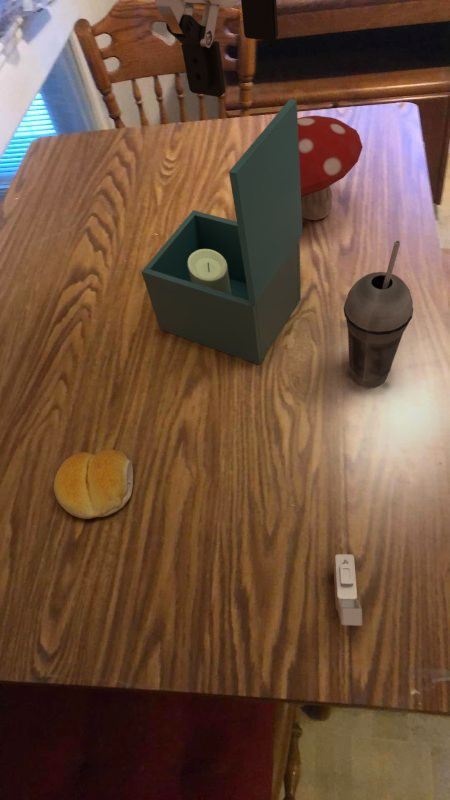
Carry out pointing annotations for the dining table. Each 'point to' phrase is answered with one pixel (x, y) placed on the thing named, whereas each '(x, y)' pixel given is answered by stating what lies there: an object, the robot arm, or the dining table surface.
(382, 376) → the beverage cup
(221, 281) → the candle
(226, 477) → the dining table surface
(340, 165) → the decorative mushroom
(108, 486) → the bread roll
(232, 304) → the chest
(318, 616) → the dining table surface
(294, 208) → the lid
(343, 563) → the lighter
